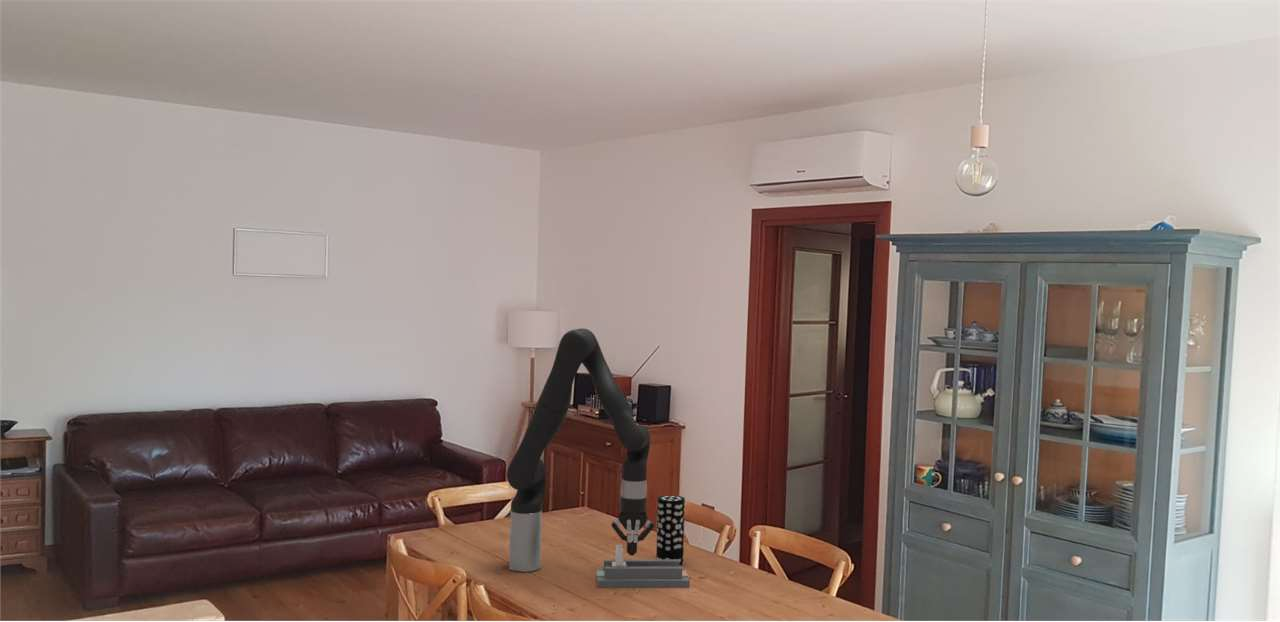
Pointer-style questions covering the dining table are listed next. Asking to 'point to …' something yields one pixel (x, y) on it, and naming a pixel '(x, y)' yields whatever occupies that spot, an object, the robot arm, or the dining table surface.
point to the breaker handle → (619, 556)
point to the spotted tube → (670, 527)
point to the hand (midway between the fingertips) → (631, 554)
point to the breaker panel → (642, 574)
